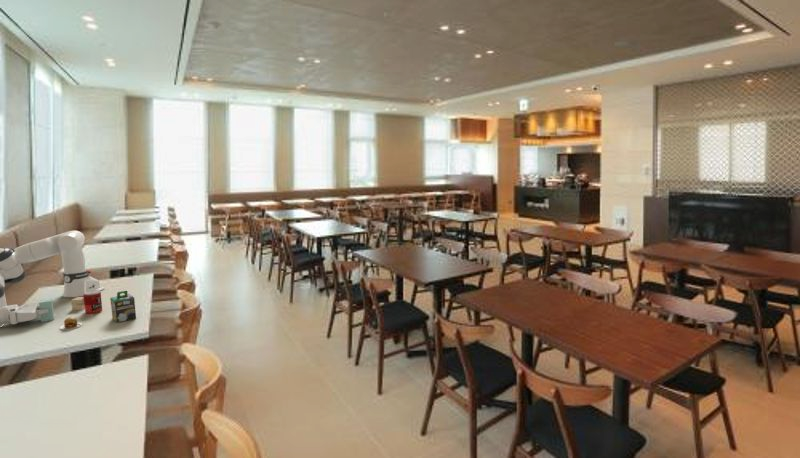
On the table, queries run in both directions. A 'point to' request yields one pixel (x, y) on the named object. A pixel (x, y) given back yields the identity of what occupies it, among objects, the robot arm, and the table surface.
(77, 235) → the robot arm
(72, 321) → the hamburger
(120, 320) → the chalk box
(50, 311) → the teal block
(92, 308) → the canned food
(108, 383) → the table surface
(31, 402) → the table surface
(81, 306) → the oak block
